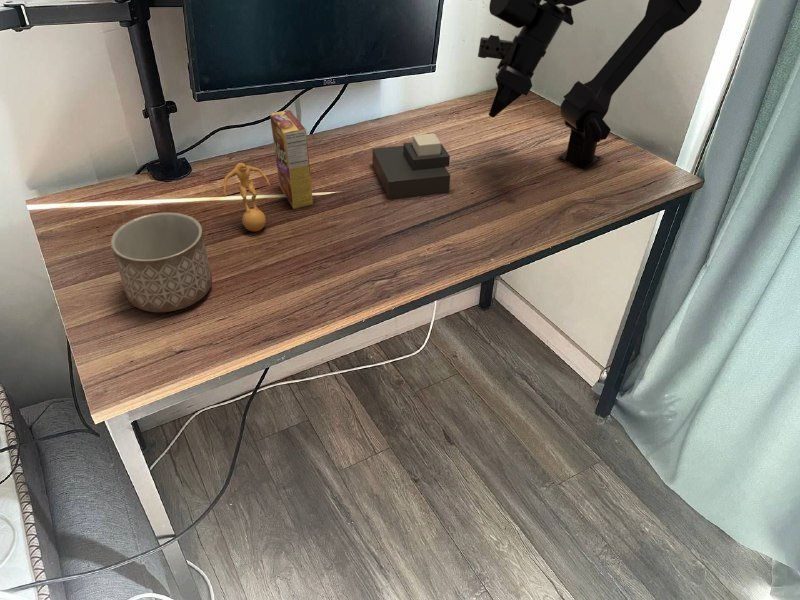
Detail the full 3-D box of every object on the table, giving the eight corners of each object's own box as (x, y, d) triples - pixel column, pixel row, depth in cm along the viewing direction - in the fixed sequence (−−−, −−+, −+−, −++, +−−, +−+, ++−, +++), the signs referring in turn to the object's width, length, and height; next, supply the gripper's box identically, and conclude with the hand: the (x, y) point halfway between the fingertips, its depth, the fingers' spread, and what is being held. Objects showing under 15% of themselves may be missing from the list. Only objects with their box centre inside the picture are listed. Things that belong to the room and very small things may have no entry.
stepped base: (432, 159, 138) (434, 132, 134) (453, 192, 127) (455, 164, 123) (372, 165, 135) (372, 138, 131) (388, 199, 125) (388, 171, 121)
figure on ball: (236, 241, 113) (226, 179, 105) (224, 225, 117) (213, 163, 109) (281, 228, 116) (274, 167, 109) (268, 212, 120) (261, 152, 113)
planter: (179, 327, 96) (164, 269, 89) (110, 304, 99) (90, 247, 93) (229, 279, 105) (219, 223, 98) (164, 259, 108) (150, 205, 102)
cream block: (433, 145, 130) (434, 133, 129) (440, 155, 127) (441, 143, 125) (412, 147, 129) (412, 135, 128) (418, 157, 126) (418, 145, 125)
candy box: (277, 187, 127) (268, 112, 118) (298, 183, 129) (292, 108, 119) (291, 210, 121) (283, 132, 112) (313, 205, 123) (307, 128, 113)
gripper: (496, 13, 126) (457, 88, 133) (494, 17, 109) (449, 103, 116) (547, 41, 127) (505, 115, 134) (552, 50, 110) (504, 134, 117)
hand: (490, 116), depth 125 cm, fingers closed
